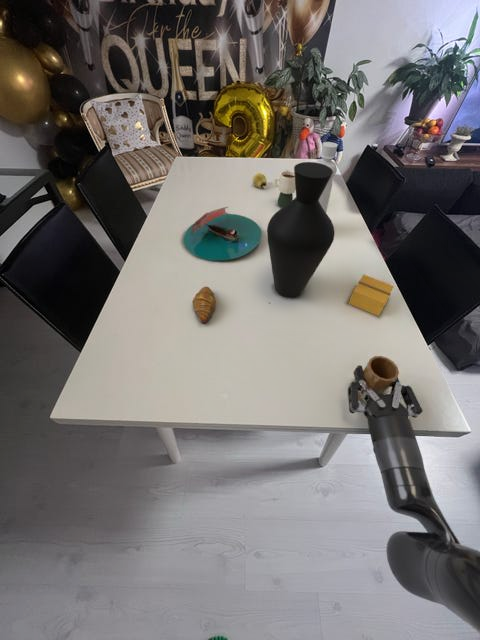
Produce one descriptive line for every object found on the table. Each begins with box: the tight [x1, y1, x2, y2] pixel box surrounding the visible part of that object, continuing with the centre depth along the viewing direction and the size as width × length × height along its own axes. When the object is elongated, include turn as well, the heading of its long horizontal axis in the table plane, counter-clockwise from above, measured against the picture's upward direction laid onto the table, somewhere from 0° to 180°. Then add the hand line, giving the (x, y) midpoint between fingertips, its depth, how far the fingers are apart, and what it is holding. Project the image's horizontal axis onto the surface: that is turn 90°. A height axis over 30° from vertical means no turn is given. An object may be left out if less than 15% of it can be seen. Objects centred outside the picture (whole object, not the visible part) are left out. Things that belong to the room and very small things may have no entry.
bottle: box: [315, 141, 338, 213], centre depth 101 cm, size 9×9×30 cm
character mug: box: [273, 170, 296, 209], centre depth 120 cm, size 11×7×13 cm, turn 81°
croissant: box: [191, 286, 217, 324], centre depth 83 cm, size 14×7×5 cm, turn 1°
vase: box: [266, 161, 335, 299], centre depth 78 cm, size 17×17×35 cm
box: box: [348, 273, 395, 317], centre depth 87 cm, size 9×9×5 cm
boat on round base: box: [182, 206, 263, 261], centre depth 104 cm, size 28×28×11 cm
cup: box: [358, 355, 400, 403], centre depth 65 cm, size 6×6×10 cm
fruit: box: [252, 172, 268, 190], centre depth 134 cm, size 6×6×10 cm
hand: (373, 368), depth 66 cm, fingers closed on cup, 6 cm apart
